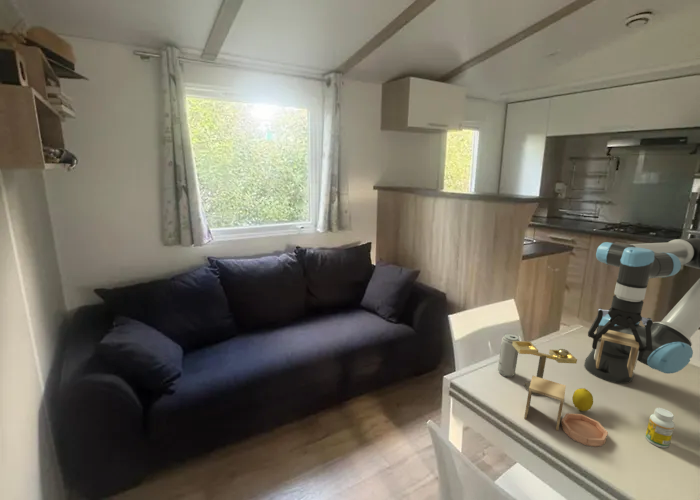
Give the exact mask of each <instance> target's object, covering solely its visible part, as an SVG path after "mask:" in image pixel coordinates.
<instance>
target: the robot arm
mask: <svg viewBox="0 0 700 500" xmlns="http://www.w3.org/2000/svg"><path fill="white" fill-rule="evenodd" d="M595 257H596V260H597V261H598V262H600V263H603V264H606V265H608V266H613V267H617V268H619V269H618V273H617V278H616V282H615V283H616V284H615V286H614V287H615V288H614V291H613V294H614V295H613V296H612V301H611V306H610V308H609V309H603V308H598V311H597V316H596V317H595V319H594V321H593V322H592V324H591V326H590V328H589V330H588V331H587V336H588V337H589V338H592V339H593V340H592V343H591V347H592V349H591V351H590V353H589V354H588V355H587V357H586V358H585V359H584V364H583V366H584V368H585V370H586V371H587V372H589V373H590V374H592V375H594V376H595V377H597V378H599V379H602V380H606V381H608V382H613V383H616V384H617V383H619V384H626V383H630V382H632V380H633V377H634V373H633V374H632V378H631V377H629V373H628V368H627V364H628V359H629V355H630V351H631V346H627V345H623V344H618V343H614V342H610V341H606V340H604V344H603V349H602V354H601V358H600V363H599V368H596V360H597V357H598V352H599V348H600V343H601V339H600V338H601V337H602V334H605V333H606V332H607V331H608V330H612V331H617V332H621V333H626V334H630V335H634V337H635V340H636V342H638V343H639V349H638V353H637V358H636V362H635V366H634V370H633V371H635V370H636V367H637V362H639V363H642V364H644V365H646V366H647V367H649V368H650V369H652V370H656V371H658V372H661V373H663V374H675V373H678V372H680V371H682V370H683V369H684V368H685V367H686V366H688V365H689V363H690V361H691V359H692V357H693V355H694V354H693V353H694V352H693V351H694V350H693V347H692V345H693V343H692V340H691V338H692V336H694V334H695V333H696V332H697V331H698V330H699V329H700V278H698V279H697V280H696V282H695V283H694V284H693V285H692V286H691V287H690V289H689V290H688V291H687V292H686V293H685V294H684V295H683V297H682V298H681V299H680V300H679V301H678V302H677V303H676V304H675V305H674V306H673V308H672V309H671V310H670V311H669V312H668V313H667V314H666V315H665V316H664V318H662V319H661V321H654V322H653V319H652V318H651V317H644V316H642V310H643V306H644V300H645V298H646V293H647V288H648V285H649V280H650V279H657V278H658V279H659V278H662V279H663V278H668V277H672V276H673V277H674V276H675V275H676V274H678V273H679V272H680V271H681V268H682V266H686V267H690V268H695V269H698V270H700V238H696V237H695V238H692V237H691V238H680V239H679V238H677V239H672V240H670V241H668V242H647V243H626V244H625V243H624V244H623V243H622V244H621V243H615V242H610V241H609V242H608V241H606V242H604V241H603V242H602V243H601V244H600V245H598V247H597V248H596V253H595ZM640 323H642V325H641V324H640ZM643 325H644V326H643ZM595 332H596V333H595Z"/></svg>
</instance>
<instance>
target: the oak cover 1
mask: <svg viewBox="0 0 700 500" xmlns="http://www.w3.org/2000/svg"><path fill="white" fill-rule="evenodd" d="M529 383H530V387H529V392H528V391H527V392H528V393H527V394H528V395H527V398H526V399H527V400H526V405H525V411H524V420H527V418H528V415H529V410H530V408H531V407H530V406H531V400H532V396H533V394H532V391H533V392H536V393H539V394H542V395H541V396H545V397H547V398H548V397H549V398H552V399H555V400H559V401H560V402H559V407H558V412H557V419H556V427H555V431H558V432H559V429H560V425H561V424H560V423H561V420H562V412H563V408H564V403H565V397H566V386H567V385H566V384H561V383H558V382H555V381H552V380H550V379H546V378H544V377H543V378H540V377H537V375H532V377H531V380H530V382H529Z"/></svg>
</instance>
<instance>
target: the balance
mask: <svg viewBox="0 0 700 500" xmlns="http://www.w3.org/2000/svg"><path fill="white" fill-rule="evenodd" d="M512 345H513V346H514V348H515V349H516V350H517V351H518V355H532V356H537V357H539V359H538V364H537V365H538V366H537V372H536V377H540V378H543V379H544V374H545V373H544V372H545V367H546V361H547V359H549V360H553V361H556V363H559V364H577V363H578V358H576V357H575V356H574V355H573V354H572V353H571V352H570V351H569V350H567V349H565V348H559V349H549V352H548V354H547V353H542V352H539V349H538V348H537V347H536V346H535V345H534V344H533V343H532V341H525V340H523V341H522V340H519V341H513V343H512ZM530 383H531V382H524V383H523V386H524V387H525V389H526V391H527V392H529V387H530ZM532 395H537V396H538V395H540V396H543V395H542V394H539V393H536V392H533V391H532Z"/></svg>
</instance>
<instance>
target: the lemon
mask: <svg viewBox="0 0 700 500" xmlns="http://www.w3.org/2000/svg"><path fill="white" fill-rule="evenodd" d="M571 400H572V404H573V406H574V407H575V408H576V409H577V410H579V411H580V412H587V411H590V410H591V409H592V407H593V405H594V396H593V395H592V393H591V391H590V390H588V389H586V388H585V387H584V388H583V387H581V388H577V389H575V391H574V392H573V395H572V399H571Z"/></svg>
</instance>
